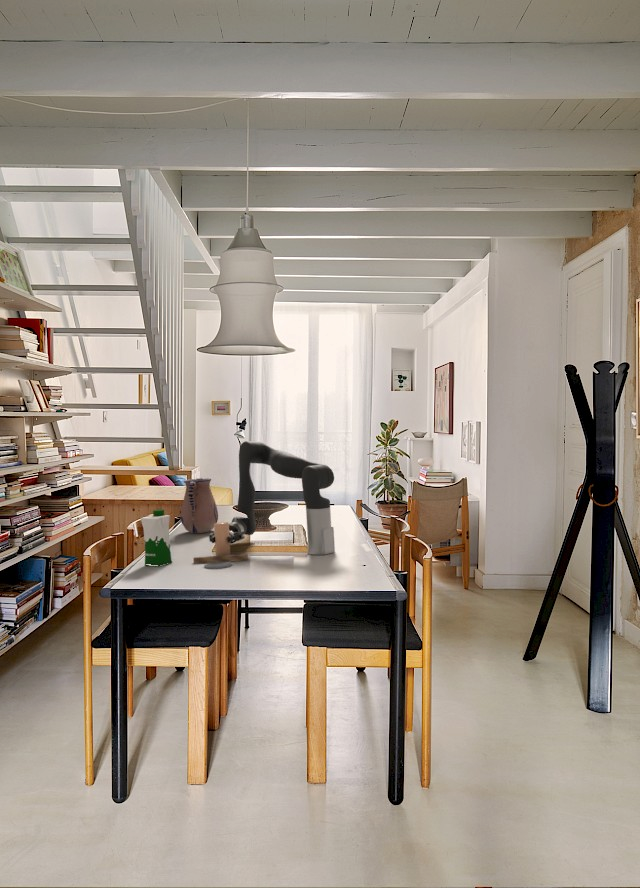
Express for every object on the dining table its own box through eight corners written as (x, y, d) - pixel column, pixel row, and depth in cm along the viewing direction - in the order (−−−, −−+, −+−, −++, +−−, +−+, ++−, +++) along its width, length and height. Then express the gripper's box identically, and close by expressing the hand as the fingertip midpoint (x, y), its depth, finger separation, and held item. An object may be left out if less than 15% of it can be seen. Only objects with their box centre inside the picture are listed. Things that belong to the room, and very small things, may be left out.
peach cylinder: (233, 556, 276) (231, 522, 275) (223, 559, 271) (221, 524, 271) (223, 555, 279) (221, 521, 279) (213, 557, 275) (210, 524, 274)
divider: (248, 559, 268) (247, 554, 268) (247, 560, 267) (247, 554, 267) (194, 562, 268) (193, 557, 268) (193, 563, 267) (193, 558, 266)
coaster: (238, 564, 260) (238, 563, 260) (217, 570, 253) (217, 568, 253) (219, 561, 267) (218, 560, 267) (198, 567, 259) (198, 566, 259)
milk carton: (175, 562, 271) (171, 509, 270) (159, 567, 263) (155, 513, 262) (157, 561, 275) (153, 509, 274) (140, 566, 267) (137, 512, 266)
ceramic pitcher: (220, 527, 348) (217, 476, 347) (217, 535, 327) (213, 480, 326) (183, 530, 347) (180, 478, 346) (178, 537, 326) (174, 482, 325)
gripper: (214, 523, 290) (201, 530, 273) (249, 522, 288) (238, 529, 271) (216, 542, 290) (202, 550, 274) (250, 541, 288) (239, 549, 271)
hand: (220, 540), depth 272 cm, fingers closed on peach cylinder, 5 cm apart
